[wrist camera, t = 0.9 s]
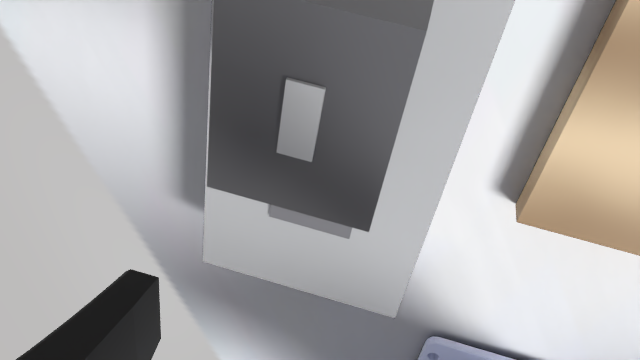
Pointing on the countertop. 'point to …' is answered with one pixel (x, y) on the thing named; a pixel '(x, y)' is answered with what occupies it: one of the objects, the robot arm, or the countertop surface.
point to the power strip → (397, 190)
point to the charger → (311, 100)
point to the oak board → (595, 146)
